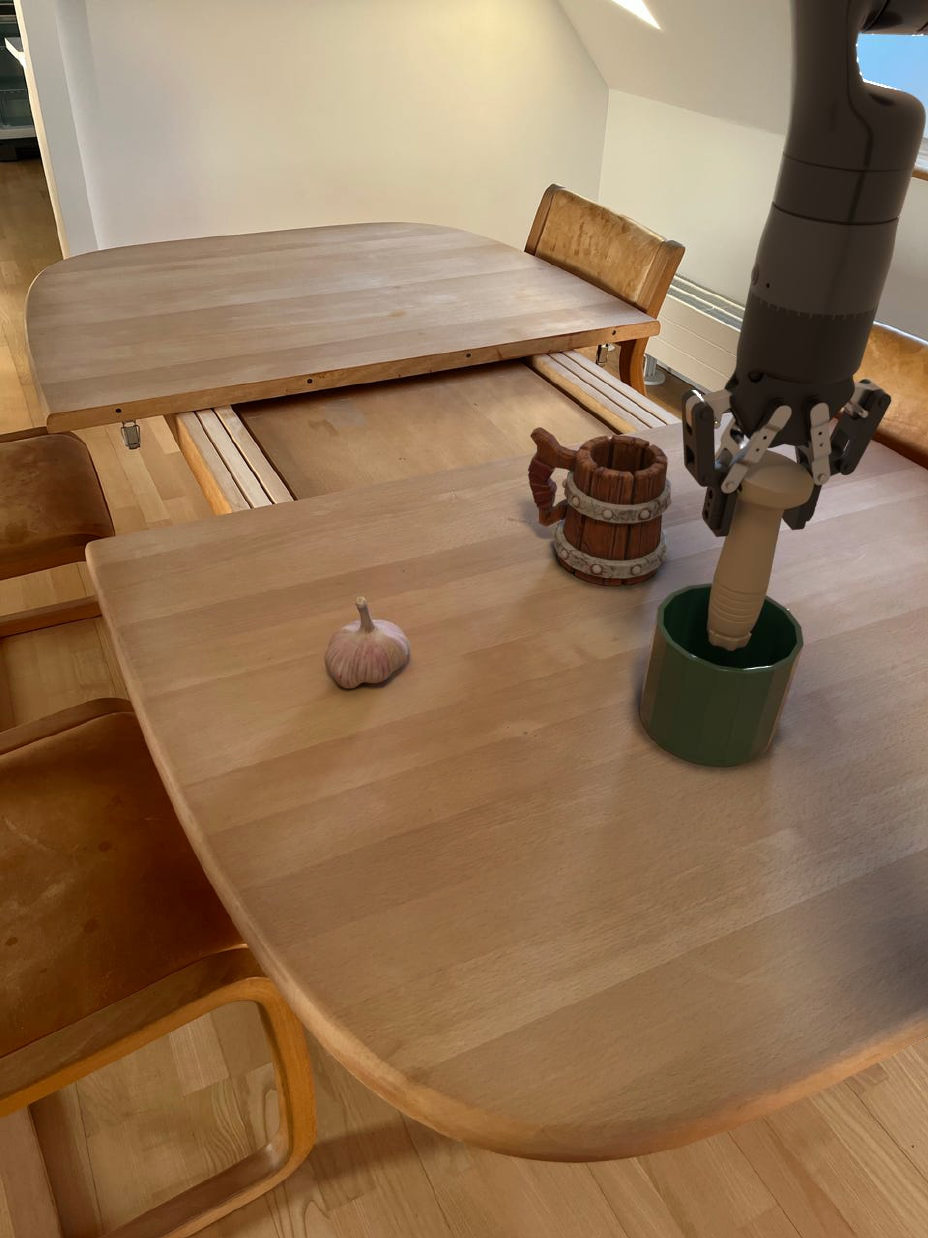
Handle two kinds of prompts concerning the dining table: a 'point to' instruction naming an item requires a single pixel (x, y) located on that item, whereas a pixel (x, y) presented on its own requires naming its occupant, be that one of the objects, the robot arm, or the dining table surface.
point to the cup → (717, 681)
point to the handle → (752, 546)
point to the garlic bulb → (366, 650)
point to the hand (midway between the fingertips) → (754, 526)
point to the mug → (604, 505)
